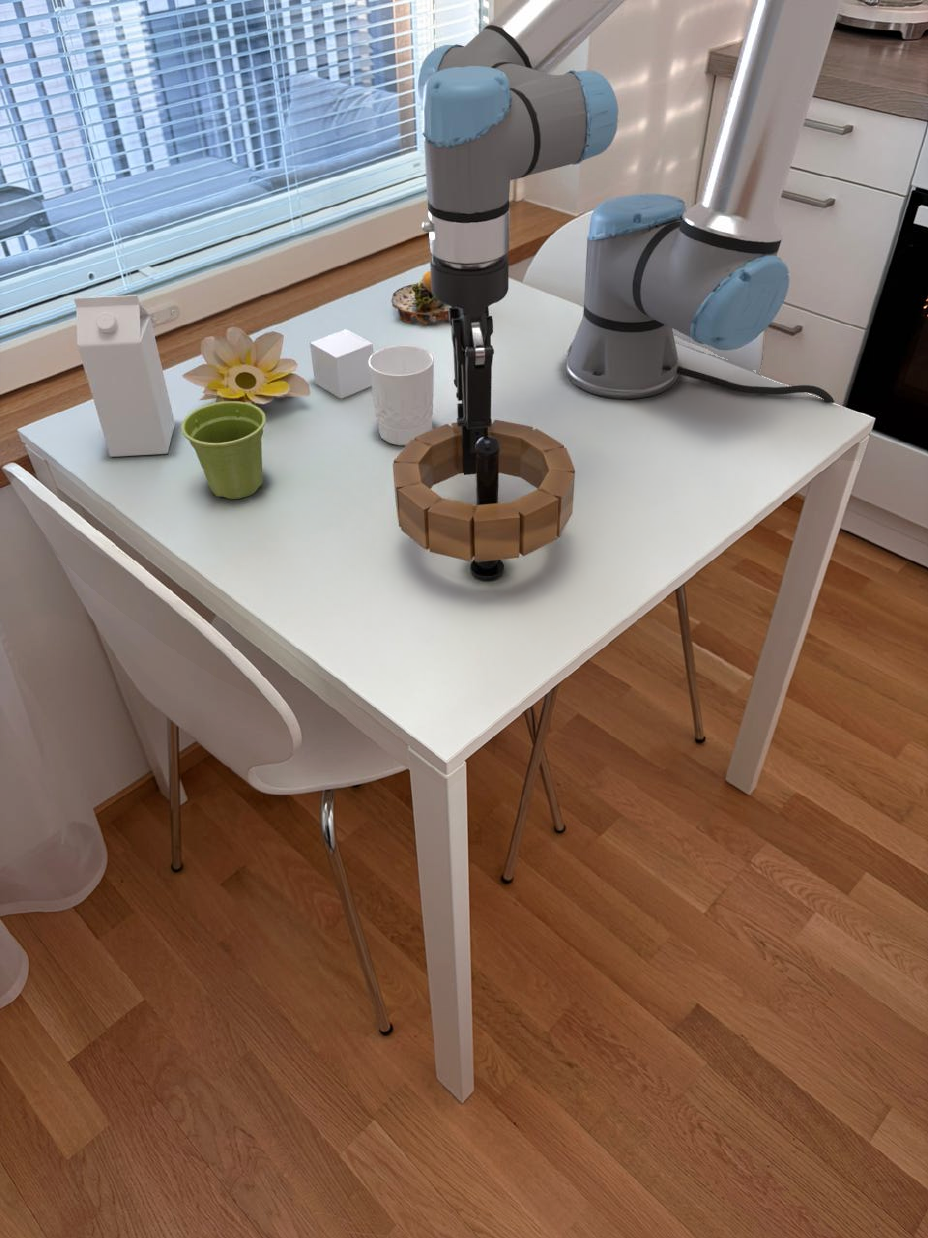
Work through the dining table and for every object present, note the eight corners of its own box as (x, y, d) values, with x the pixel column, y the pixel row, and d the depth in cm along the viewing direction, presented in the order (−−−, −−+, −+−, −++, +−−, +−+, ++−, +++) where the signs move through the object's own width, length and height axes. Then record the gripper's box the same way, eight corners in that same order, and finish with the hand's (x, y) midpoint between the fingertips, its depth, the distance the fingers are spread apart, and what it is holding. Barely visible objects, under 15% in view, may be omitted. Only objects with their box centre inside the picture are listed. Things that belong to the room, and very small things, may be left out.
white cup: (428, 451, 123) (425, 378, 116) (367, 445, 124) (360, 372, 117) (442, 419, 128) (440, 347, 122) (383, 413, 130) (378, 342, 123)
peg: (501, 558, 106) (503, 426, 96) (506, 579, 104) (509, 445, 93) (468, 561, 106) (466, 429, 95) (472, 582, 103) (471, 449, 93)
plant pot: (209, 517, 113) (194, 452, 107) (186, 476, 119) (171, 413, 113) (287, 495, 116) (276, 430, 110) (261, 456, 122) (250, 393, 117)
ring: (551, 452, 112) (553, 413, 108) (587, 551, 98) (590, 510, 95) (390, 467, 110) (387, 427, 107) (405, 569, 97) (402, 528, 94)
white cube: (376, 384, 136) (373, 343, 132) (340, 399, 133) (336, 357, 129) (349, 368, 139) (345, 328, 135) (314, 383, 136) (309, 342, 132)
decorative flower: (204, 431, 123) (189, 350, 119) (183, 412, 132) (168, 336, 128) (317, 410, 129) (307, 332, 124) (290, 392, 138) (279, 319, 133)
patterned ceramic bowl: (435, 285, 160) (433, 239, 155) (483, 309, 153) (483, 261, 148) (375, 307, 154) (371, 259, 149) (422, 332, 147) (420, 283, 142)
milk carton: (120, 428, 128) (80, 285, 115) (175, 425, 128) (142, 282, 116) (110, 458, 123) (67, 311, 110) (168, 454, 123) (132, 308, 110)
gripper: (421, 226, 100) (432, 429, 115) (439, 291, 88) (448, 507, 104) (495, 220, 100) (495, 424, 116) (522, 284, 89) (519, 500, 104)
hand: (473, 463), depth 110 cm, fingers closed on ring, 3 cm apart
